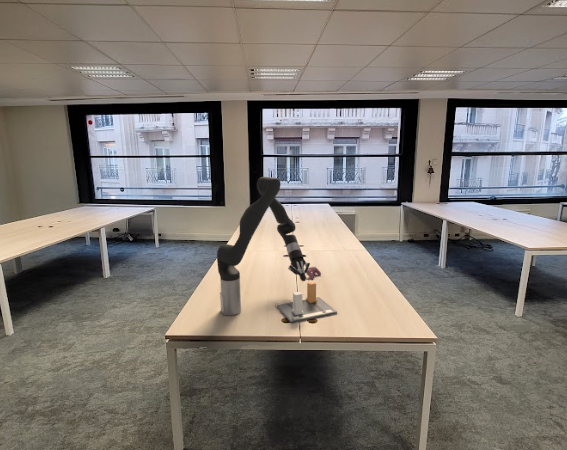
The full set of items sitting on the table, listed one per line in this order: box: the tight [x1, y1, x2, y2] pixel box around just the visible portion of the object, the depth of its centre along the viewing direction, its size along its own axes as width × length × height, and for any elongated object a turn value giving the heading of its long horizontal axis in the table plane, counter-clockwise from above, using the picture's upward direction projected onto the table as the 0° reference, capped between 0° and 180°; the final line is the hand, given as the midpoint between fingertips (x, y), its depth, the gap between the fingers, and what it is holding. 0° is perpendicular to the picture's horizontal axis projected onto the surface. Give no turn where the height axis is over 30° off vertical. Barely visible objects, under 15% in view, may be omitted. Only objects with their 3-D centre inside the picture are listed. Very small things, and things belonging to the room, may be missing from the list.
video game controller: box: [305, 266, 322, 280], centre depth 205 cm, size 10×5×7 cm, turn 141°
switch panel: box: [276, 296, 338, 324], centre depth 160 cm, size 24×18×1 cm
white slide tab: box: [292, 291, 303, 315], centre depth 154 cm, size 4×4×10 cm
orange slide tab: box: [305, 280, 317, 303], centre depth 166 cm, size 4×4×10 cm
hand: (304, 280), depth 174 cm, fingers closed
